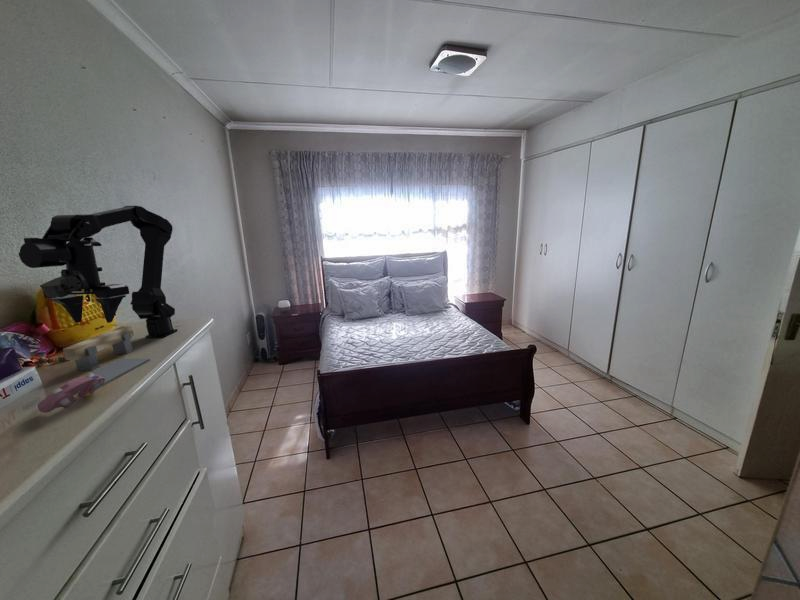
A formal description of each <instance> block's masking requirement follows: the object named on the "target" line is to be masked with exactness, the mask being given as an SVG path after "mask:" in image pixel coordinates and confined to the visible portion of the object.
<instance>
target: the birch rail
mask: <svg viewBox="0 0 800 600" xmlns="http://www.w3.org/2000/svg"><path fill="white" fill-rule="evenodd" d="M126 332H131V336H132V337H134V336H135V334H134V330H133V326H132V325H131V326H129V325H128V326H127V325H126V326H120V327H117V328H114V329H112V330H109V331H107V332H103V333H102V334H98V335H95V336H92V337H91V338H88V339H85V340H82V341H79V342H78V343H74V344H72V345H69V346H67V347H64V348H62V351H63V355H64V357H65V360H66V361H70V360H71V361H72V360H73V361H75V360H78V359H81V358H83V357H85V356H86V353H85V350H84V349H86V348H89V347H91V346H96V348H97V351H98V352H99V351H102V350H103V349H107V348H108V347H112V345H113V344H116V343H118V342H121V341H123V340H122V337H121V334H123V333H126Z"/></svg>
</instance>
